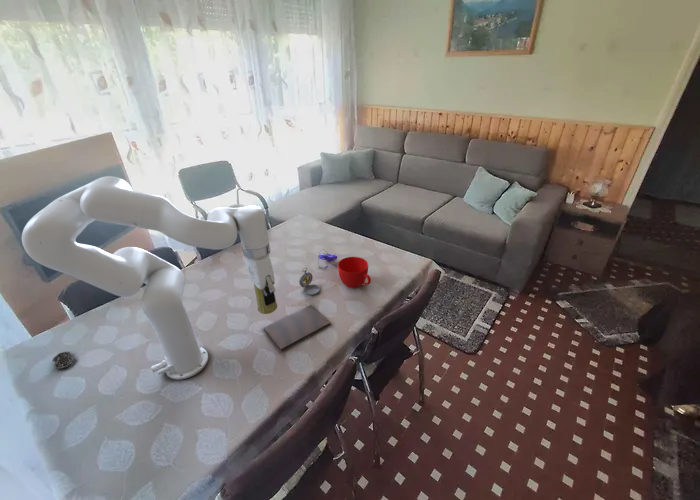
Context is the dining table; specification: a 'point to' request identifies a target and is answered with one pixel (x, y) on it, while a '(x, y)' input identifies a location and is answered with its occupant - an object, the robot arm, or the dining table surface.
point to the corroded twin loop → (62, 360)
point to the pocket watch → (308, 288)
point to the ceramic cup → (353, 271)
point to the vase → (261, 304)
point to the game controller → (328, 257)
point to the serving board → (296, 327)
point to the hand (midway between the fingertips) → (265, 298)
